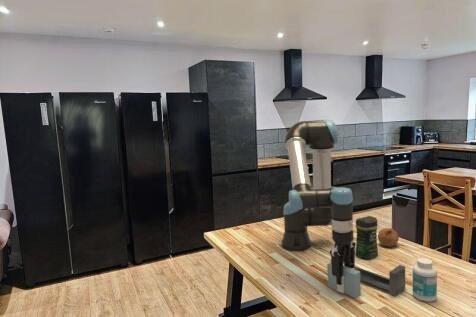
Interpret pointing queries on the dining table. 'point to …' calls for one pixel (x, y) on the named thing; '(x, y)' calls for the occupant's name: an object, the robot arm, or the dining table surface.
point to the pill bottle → (424, 280)
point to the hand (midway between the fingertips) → (344, 289)
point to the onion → (388, 237)
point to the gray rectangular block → (346, 281)
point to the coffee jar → (366, 237)
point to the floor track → (384, 280)
